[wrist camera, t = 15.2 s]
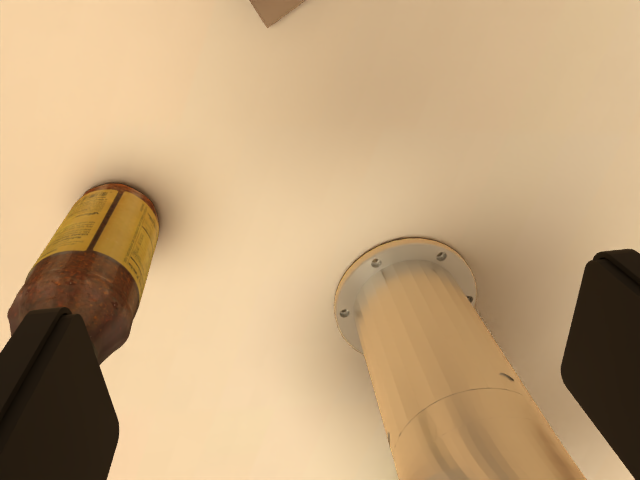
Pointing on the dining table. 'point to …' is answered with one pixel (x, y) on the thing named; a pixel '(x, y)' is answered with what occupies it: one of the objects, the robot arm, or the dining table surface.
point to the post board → (274, 9)
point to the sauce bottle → (95, 265)
